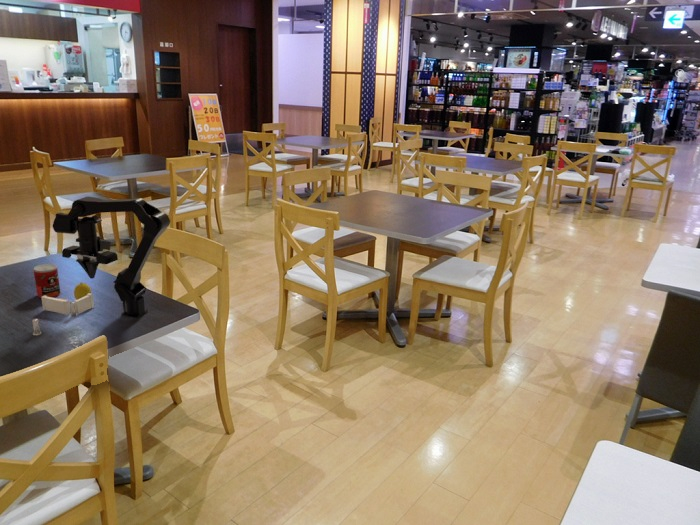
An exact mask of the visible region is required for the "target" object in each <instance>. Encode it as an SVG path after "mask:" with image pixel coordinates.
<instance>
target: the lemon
mask: <svg viewBox="0 0 700 525" xmlns="http://www.w3.org/2000/svg"><path fill="white" fill-rule="evenodd" d="M88 293H90V294H92V289H91V287H90V286H89V285H88V284H87V283H84V282H80V283H79V284H77V285H76V286H75V287H74V290H73V294H74V298H75V301H76V300H78V299H80V298H82V297H84V296H87V294H88Z"/></svg>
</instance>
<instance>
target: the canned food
mask: <svg viewBox="0 0 700 525" xmlns="http://www.w3.org/2000/svg"><path fill="white" fill-rule="evenodd" d="M33 275H34V277H33V278H34V282H35V283H34V284H35V288H36V294H37V297H38V298H40V299H42V298H41V297H42V296H47V297H52V298H57V297H58V296H60V295H61V287H60V286H61V285H60V278H59V272H58V266H57V265H56V264H53V263H43V264H39V265H36V266H34V267H33Z"/></svg>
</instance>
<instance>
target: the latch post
mask: <svg viewBox="0 0 700 525" xmlns="http://www.w3.org/2000/svg"><path fill="white" fill-rule="evenodd" d="M32 327H33V332H32V335H33V336H36V337H37V336H40V335H42V334H43V333H42V331H41V329H40V322H39V319H38V318H33V319H32Z"/></svg>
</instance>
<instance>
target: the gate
mask: <svg viewBox="0 0 700 525" xmlns="http://www.w3.org/2000/svg"><path fill="white" fill-rule="evenodd" d="M40 299H41V303H42V304H41V305H42V310H43V311H49V312H54V313H58V314H63V315H66V316H67V315H71V311H70V301H69V299H67V300H62V299H63V298H62V299H59V298H57V297H54V298H52V297H47V296H42V297H41V298H40Z"/></svg>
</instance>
